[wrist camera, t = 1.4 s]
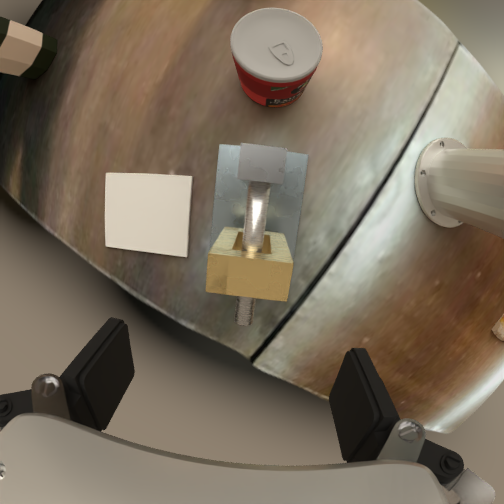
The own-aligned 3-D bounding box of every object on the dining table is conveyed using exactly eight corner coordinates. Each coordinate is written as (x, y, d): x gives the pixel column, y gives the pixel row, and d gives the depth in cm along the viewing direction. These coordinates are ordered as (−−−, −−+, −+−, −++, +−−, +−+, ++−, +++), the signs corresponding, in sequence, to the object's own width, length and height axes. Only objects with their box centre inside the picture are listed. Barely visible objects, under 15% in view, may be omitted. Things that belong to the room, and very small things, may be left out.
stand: (306, 155, 30) (340, 145, 16) (287, 282, 35) (301, 351, 21) (221, 145, 30) (189, 128, 16) (210, 273, 35) (179, 337, 21)
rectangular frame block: (284, 233, 28) (293, 263, 19) (279, 261, 29) (286, 301, 20) (224, 226, 28) (208, 253, 19) (222, 254, 29) (205, 291, 20)
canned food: (272, 121, 29) (278, 98, 19) (225, 78, 28) (209, 40, 17) (318, 83, 27) (343, 48, 17) (271, 41, 26) (275, -5, 15)
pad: (193, 176, 31) (191, 176, 31) (187, 255, 34) (186, 257, 34) (108, 172, 31) (106, 173, 31) (107, 245, 34) (105, 246, 34)
